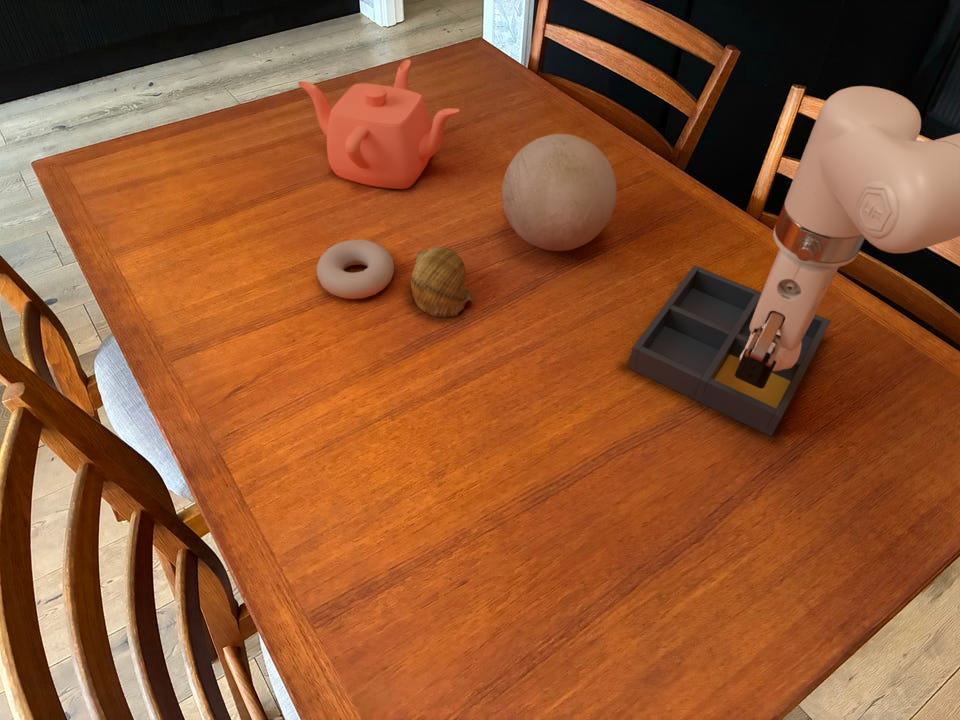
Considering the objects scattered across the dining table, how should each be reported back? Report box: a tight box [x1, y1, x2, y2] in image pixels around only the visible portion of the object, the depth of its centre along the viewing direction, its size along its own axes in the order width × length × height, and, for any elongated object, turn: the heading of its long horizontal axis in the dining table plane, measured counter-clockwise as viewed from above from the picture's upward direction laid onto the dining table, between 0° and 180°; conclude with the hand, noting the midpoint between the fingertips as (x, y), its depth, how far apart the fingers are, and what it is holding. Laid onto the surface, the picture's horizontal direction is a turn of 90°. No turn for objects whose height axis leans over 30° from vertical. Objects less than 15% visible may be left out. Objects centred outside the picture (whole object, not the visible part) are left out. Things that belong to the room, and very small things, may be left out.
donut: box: [316, 238, 395, 300], centre depth 94 cm, size 10×4×10 cm
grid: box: [627, 264, 832, 437], centre depth 86 cm, size 17×17×4 cm
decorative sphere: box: [501, 133, 618, 252], centre depth 96 cm, size 15×15×15 cm
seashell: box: [410, 246, 473, 319], centre depth 92 cm, size 10×7×8 cm
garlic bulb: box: [740, 324, 802, 371], centre depth 78 cm, size 6×6×5 cm
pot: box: [297, 59, 460, 190], centre depth 108 cm, size 18×17×12 cm
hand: (761, 359), depth 79 cm, fingers closed on garlic bulb, 6 cm apart
